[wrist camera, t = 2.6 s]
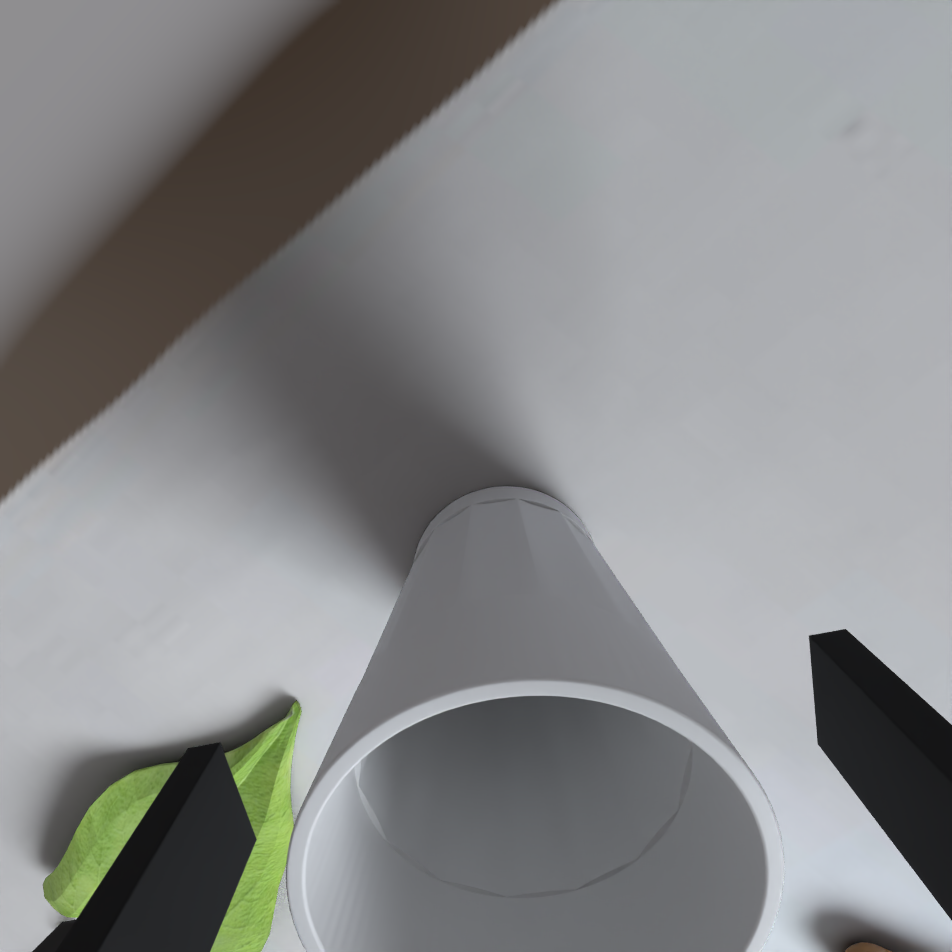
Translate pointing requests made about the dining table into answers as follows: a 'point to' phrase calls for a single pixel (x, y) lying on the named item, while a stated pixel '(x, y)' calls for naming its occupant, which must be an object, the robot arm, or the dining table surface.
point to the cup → (528, 767)
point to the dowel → (866, 948)
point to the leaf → (127, 800)
